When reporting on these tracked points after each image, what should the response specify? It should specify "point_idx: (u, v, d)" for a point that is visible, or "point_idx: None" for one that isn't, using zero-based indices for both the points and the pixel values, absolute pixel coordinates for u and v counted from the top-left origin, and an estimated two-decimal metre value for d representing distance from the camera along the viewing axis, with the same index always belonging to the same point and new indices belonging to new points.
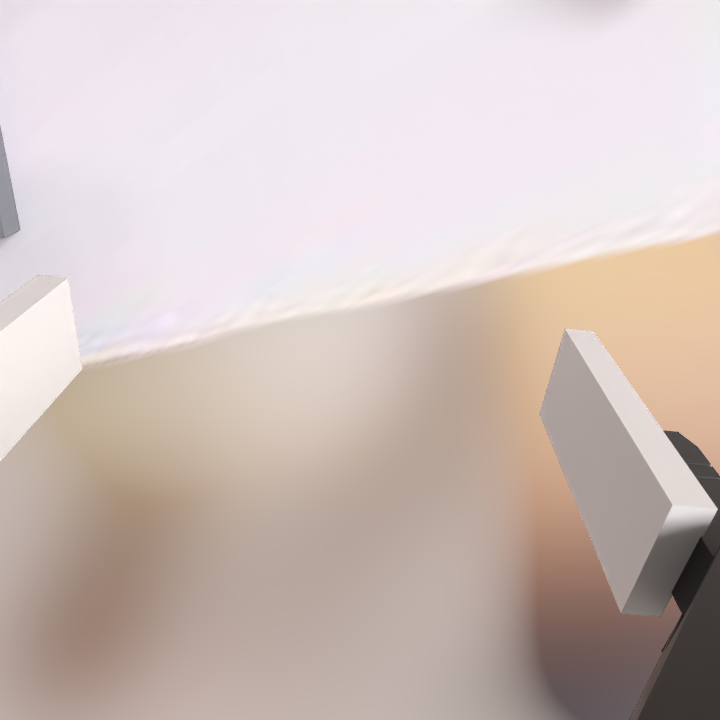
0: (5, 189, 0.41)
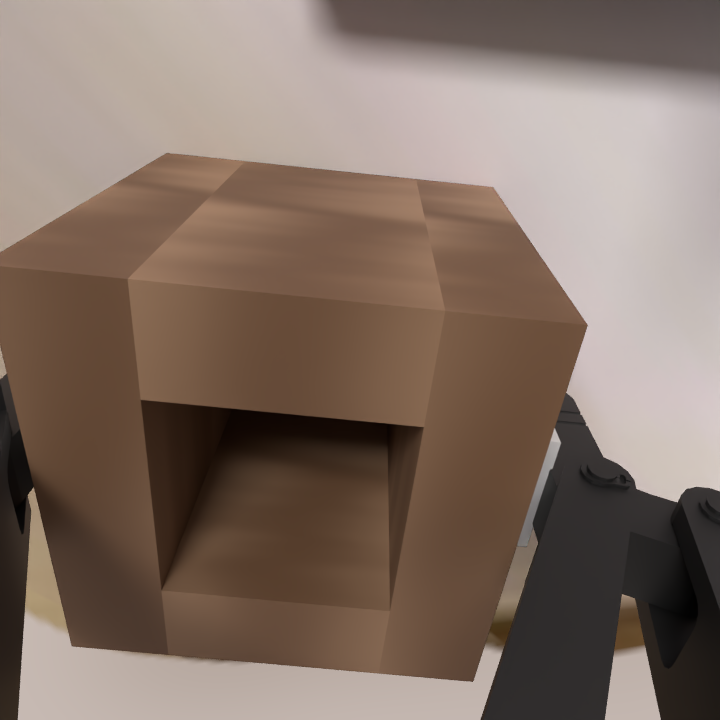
0: None
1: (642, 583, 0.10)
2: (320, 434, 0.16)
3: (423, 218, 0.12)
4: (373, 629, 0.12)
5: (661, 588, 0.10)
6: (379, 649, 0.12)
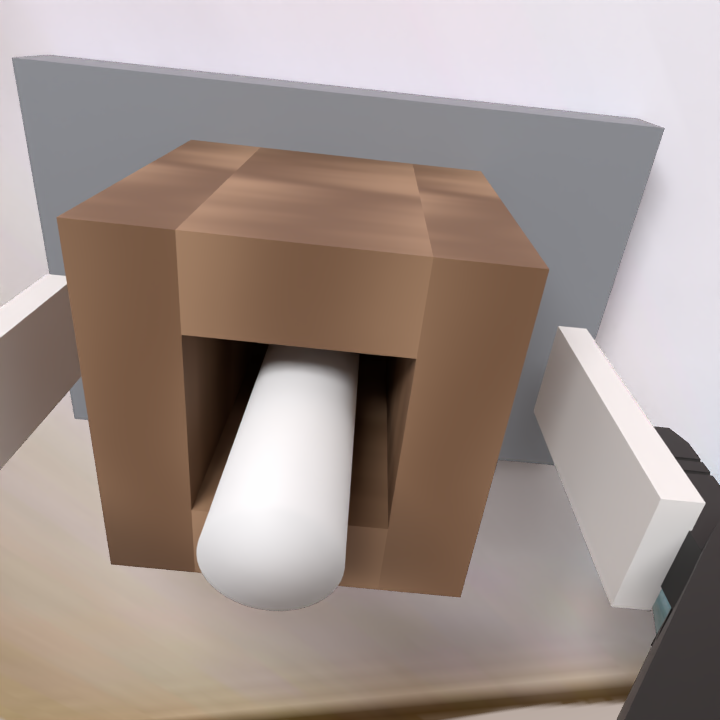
0: (541, 111, 0.17)
1: None
2: None
3: (417, 193, 0.14)
4: (373, 546, 0.13)
5: None
6: (378, 566, 0.14)
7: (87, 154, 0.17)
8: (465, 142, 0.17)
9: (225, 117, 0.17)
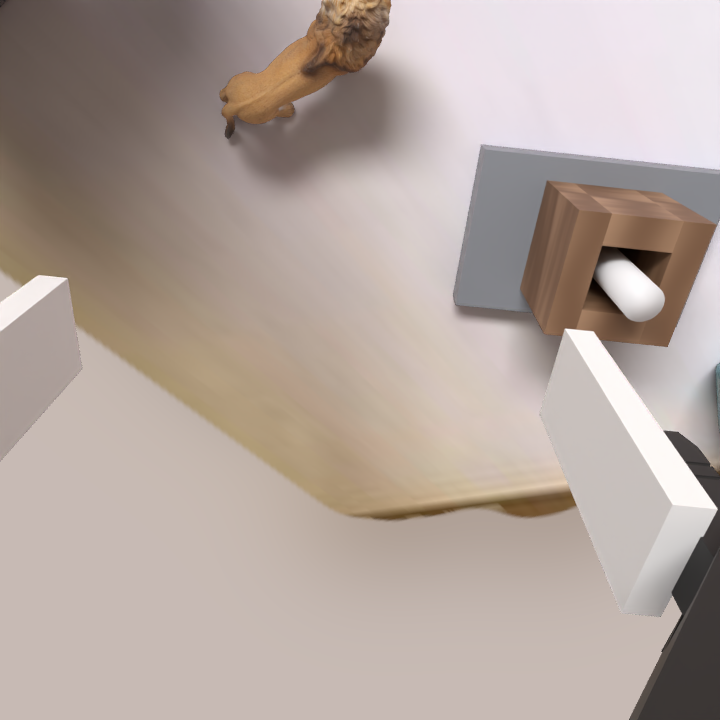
0: (685, 168, 0.43)
1: None
2: (594, 283, 0.43)
3: (653, 202, 0.39)
4: (641, 324, 0.39)
5: None
6: (641, 333, 0.39)
7: (502, 185, 0.43)
8: (657, 181, 0.42)
9: (563, 171, 0.42)
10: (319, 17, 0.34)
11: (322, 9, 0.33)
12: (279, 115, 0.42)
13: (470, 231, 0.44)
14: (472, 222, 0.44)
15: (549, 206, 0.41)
